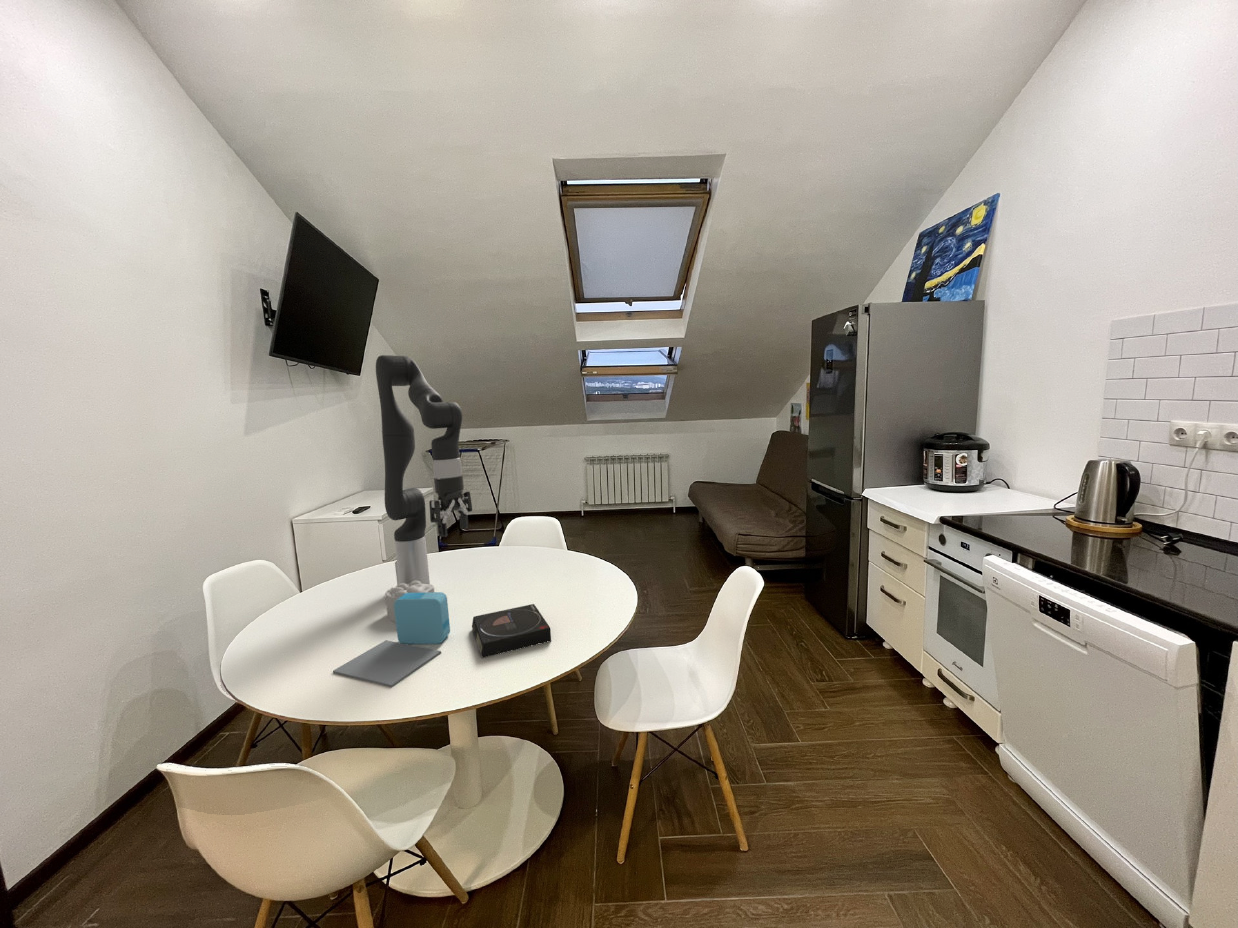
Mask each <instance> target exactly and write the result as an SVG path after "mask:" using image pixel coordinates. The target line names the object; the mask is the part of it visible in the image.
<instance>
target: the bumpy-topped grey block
mask: <svg viewBox="0 0 1238 928" xmlns="http://www.w3.org/2000/svg"><path fill="white" fill-rule="evenodd" d="M425 592H435V586H434V585H432V584H421V582H419V581H413V582H411V583H410V584H407V585H406V584H404V583H401V584H399V585H397V584H396V586H395V587H391V588H389V589H387V590H386V592H385V593H384V597H385V605H386V613H387V619H388V620H389V621H392V622H394V623H396V619H395V610H394V603H395V601H396V600H397V599H399V598H400V597H401V596H402V595H404V594H405V593H425Z"/></svg>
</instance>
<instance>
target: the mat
mask: <svg viewBox="0 0 1238 928" xmlns="http://www.w3.org/2000/svg"><path fill="white" fill-rule="evenodd" d="M441 654H442V651H441V650H437V649H432V648H427V647H423V646H417V645H414V644H403V643H400V642H399V641H398V642H397V641H392V640H386V639H385V640H384V641H382V642H380V643H379V644H377V645H375V646H373V647H371V648H369V649H368V650H366V651H365V652H362V653H361V654H360V655H358V656H356V657H354V658H352V659H351V660H349V661H348V662H346V663H343V664H342V665H340V666H339V667H337V668H335V669H334V670H333V671H332V673H333V674H337V675H340V676H344V677H345V676H346V677H349V678H353V679H355V680H361V681H365V682H369V683H373V684H377V685H381V686H385V687H389V688H393V687H395V686H396V685H397V684H399V683H400V682H401V681H403V680H405V679H406V678H407V677H409V676H410V675H412V674H413V673H415V672H416V671H417V670H420V668H422V667H423V666H425V665H427V664H428V663H429V662H430V661H432V660H434V658H436V657H438V656H439V655H441Z"/></svg>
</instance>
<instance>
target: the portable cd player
mask: <svg viewBox="0 0 1238 928" xmlns="http://www.w3.org/2000/svg"><path fill="white" fill-rule="evenodd" d="M471 624H472V625H471V628H472V629H471V630H472V632H473V635H474V638H475V641H476V644H477V646H478V650H479V652H480V656H481V657H482V658H489V657H493V656H495V655H500V653H501V654H504V653H503V652H505V653H508V652H507V651H509V652H512V651H511V650H513V651H517V650H521V649H525V648H529V647H532V646H531V645H533V646H537V645H536V644H538V643H542V644H545V643H544V642H546V643H548V642H547V641H550V642H552V633H551V631H552V630H551V626H550V625H549V624H548V622H547V621H546V620H545V618H544V616H543V615H542V613H541V612H540V611H539V609H538V607H537V606H536V604H534V603H532V604H527V605H521V606H518V607H512V608H508V609H504V610H498V611H493V612H489V613H483V614H480V615H475V616H473V618H472V623H471ZM538 645H539V644H538ZM524 647H525V648H524ZM520 648H521V649H520ZM516 649H517V650H516Z"/></svg>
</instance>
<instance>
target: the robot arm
mask: <svg viewBox="0 0 1238 928" xmlns="http://www.w3.org/2000/svg"><path fill="white" fill-rule="evenodd" d="M375 375H376V376H375V377H376V384H377V391H378V395H379V397H378V398H379V403H380V414H381V416H380V417H381V435H382V437H381V438H382V447H383V455H384V456H383V458H384V507H385V511H386V515H387V516H388V518H389V519H390V520H392V521H399V520H400V521H401V520H404V522H403V523H402V524H401V525H400V526H399V527H397V529H395V530H394V532H393V533H394V534H393V537H394V547H395V555H396V561H394V566H395V567H394V568H395V575H396V576H395V578H396V586H397V585H399V584H401V583H404V584H406V585H407V584H410V583H411V582H413V581H419V582H421V584H430V583H431V580H430V571H429V561H428V560H429V559H428V552H427V551H428V550H427V543H426V528H427V519H426V518H427V517H426V516H427V515H426V512H427V511H426V501H425V497H424V496H425V495H424V494H423V492H422V491H421V490H420V489H419V488H418V487H410V488H409V487H408V488H404V489H403V487H404V477H405V473H406V470H407V469H408V466H409V464H410V463H411V460H412V458H413V456H414V453H415V450H416V443H415V442H416V440H415V429H414V426H413V424H412V422H411V421H410V419H409V417H407V415H406V414H405V412H403V410H402V409H401V407H400V406H399V404H398V403H397V400H396V398H395V394H394V391H393V387H407V386H408V392H407V393H408V398H409V400H410V402H411V403H412V404H413V405H414V407H415V408H417V410H418V412H419V415H420V417H421V421H422V424H423V425H424V426H425V427H426V428H428V429H431V430H437V429H446V430H445V433H444V434H443V435H441V436H438V437H435V438H433V439H432V440H431V453H432V471H433V481H434V491H435V494H437V496H438V498H437V499H435V500H434V499H432V500H429V503H428V504H429V516H430V517H429V519H430V523H435V524H436V525H437V531H438V532H437V533H438V535H439V537H440V538H446V537H447V536H448V526H447V519H448V517H449V516H450V515H451V513H454V512H455V511H456V512H457V513H458V517H459V527H460V529H462V530H463V529H466V530H467V529H468V528H469V516H468V515H469V514H470V512H472V511H473V504H472V497H471V492H470V491H467V490H466V491H464V489H465V487H464V476H463V465H462V462H461V456H460V455H461V454H460V445H459V443H460V442H459V441H460V434H461V428H462V423H463V410H462V408H461V406H460V405H459V404H458V403H457V402H455V401H443V398H442V396H441V395H440V394H439V393H438V392H437V391H436V389H434V388H433V387H432V386H431V385H430V384H429V383H428V380H426V378H425V376H424V374H423V372H422V370H421V369H420V367H419V366H418V364H417V362H416V361H415V360H414V359H413V358H411V357H409V356H406V355H388V354H387V355H386V354H382V355H381V354H380V355H378V357H377V358H376V361H375ZM430 585H431V584H430Z"/></svg>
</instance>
